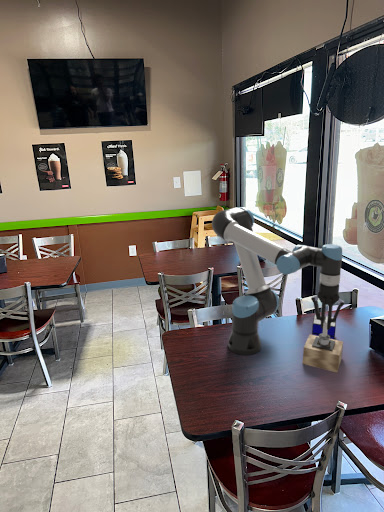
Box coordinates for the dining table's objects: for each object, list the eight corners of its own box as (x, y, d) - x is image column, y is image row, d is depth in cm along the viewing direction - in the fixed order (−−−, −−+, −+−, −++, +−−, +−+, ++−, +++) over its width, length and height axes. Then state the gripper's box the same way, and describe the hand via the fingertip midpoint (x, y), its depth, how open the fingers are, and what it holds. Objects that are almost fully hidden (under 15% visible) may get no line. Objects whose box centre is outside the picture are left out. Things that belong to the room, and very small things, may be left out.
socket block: (302, 363, 152) (303, 345, 149) (308, 350, 162) (309, 333, 159) (337, 372, 145) (339, 354, 143) (341, 357, 155) (343, 340, 153)
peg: (316, 353, 151) (318, 337, 149) (318, 348, 155) (320, 332, 153) (327, 356, 149) (329, 339, 147) (329, 351, 153) (330, 334, 151)
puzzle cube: (311, 342, 168) (312, 323, 165) (312, 332, 177) (314, 314, 174) (333, 346, 164) (335, 326, 162) (334, 335, 173) (336, 317, 170)
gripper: (310, 283, 143) (306, 336, 150) (345, 288, 137) (340, 343, 144) (314, 277, 149) (310, 328, 156) (348, 282, 143) (342, 334, 150)
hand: (324, 335), depth 150 cm, fingers closed
